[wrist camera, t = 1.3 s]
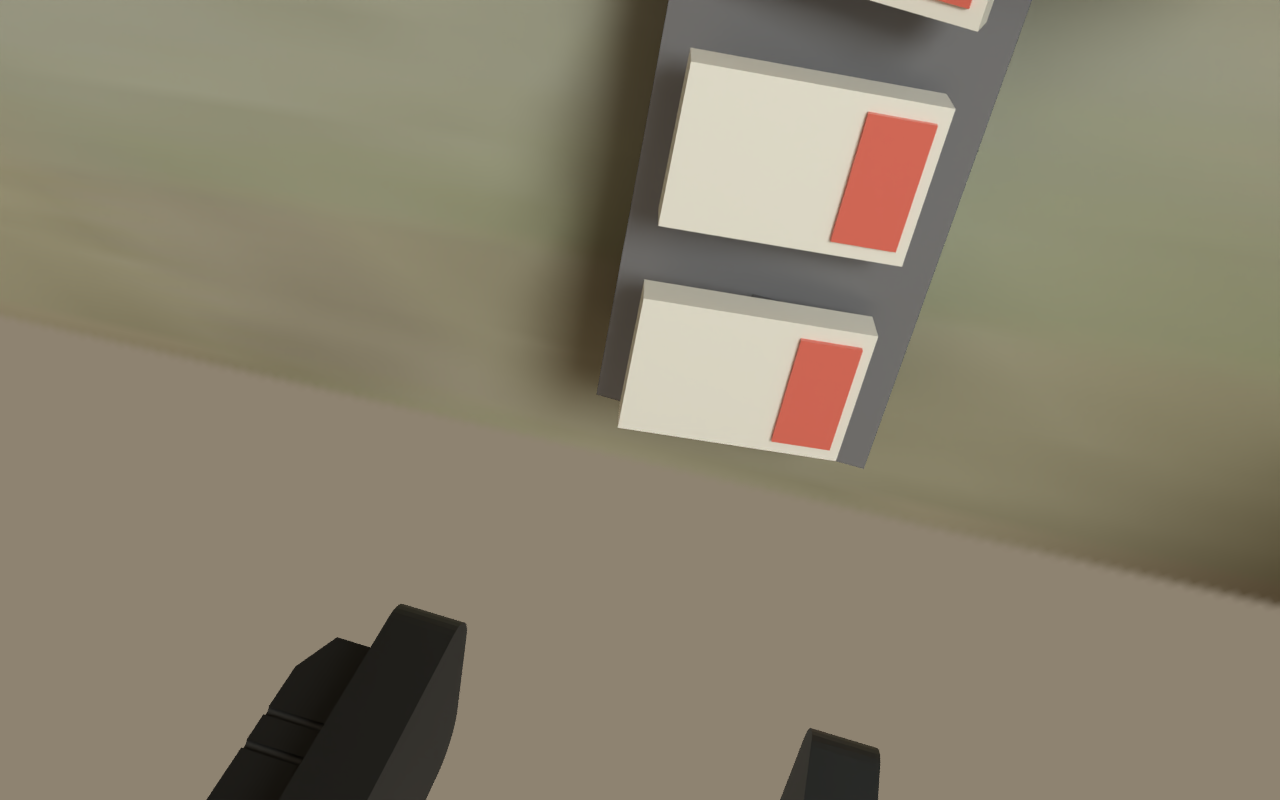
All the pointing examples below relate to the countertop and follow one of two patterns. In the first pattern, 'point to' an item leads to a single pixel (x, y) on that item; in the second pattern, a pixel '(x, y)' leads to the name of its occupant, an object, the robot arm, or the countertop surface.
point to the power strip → (830, 42)
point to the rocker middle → (801, 157)
